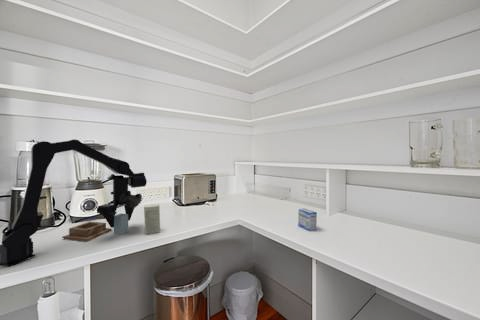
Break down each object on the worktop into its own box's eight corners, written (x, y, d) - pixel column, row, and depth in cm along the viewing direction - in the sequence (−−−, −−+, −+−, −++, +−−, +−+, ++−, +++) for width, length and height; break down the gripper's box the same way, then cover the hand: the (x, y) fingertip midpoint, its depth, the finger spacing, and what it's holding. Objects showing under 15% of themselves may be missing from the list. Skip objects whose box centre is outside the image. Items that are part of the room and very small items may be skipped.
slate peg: (121, 234, 85) (121, 216, 85) (113, 234, 86) (113, 216, 86) (128, 231, 89) (128, 214, 89) (120, 230, 90) (120, 213, 90)
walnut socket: (86, 241, 78) (86, 232, 78) (62, 239, 80) (62, 229, 80) (111, 230, 90) (111, 222, 90) (90, 228, 92) (90, 220, 92)
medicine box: (297, 226, 98) (298, 208, 98) (304, 224, 100) (304, 207, 100) (310, 231, 91) (310, 213, 91) (316, 229, 93) (317, 211, 93)
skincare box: (160, 229, 92) (160, 203, 92) (159, 232, 88) (159, 205, 88) (145, 231, 90) (145, 204, 90) (144, 234, 86) (144, 207, 85)
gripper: (119, 193, 76) (119, 233, 77) (150, 186, 95) (150, 218, 95) (95, 192, 79) (95, 230, 79) (130, 185, 97) (130, 216, 97)
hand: (120, 223), depth 87 cm, fingers open, 9 cm apart
